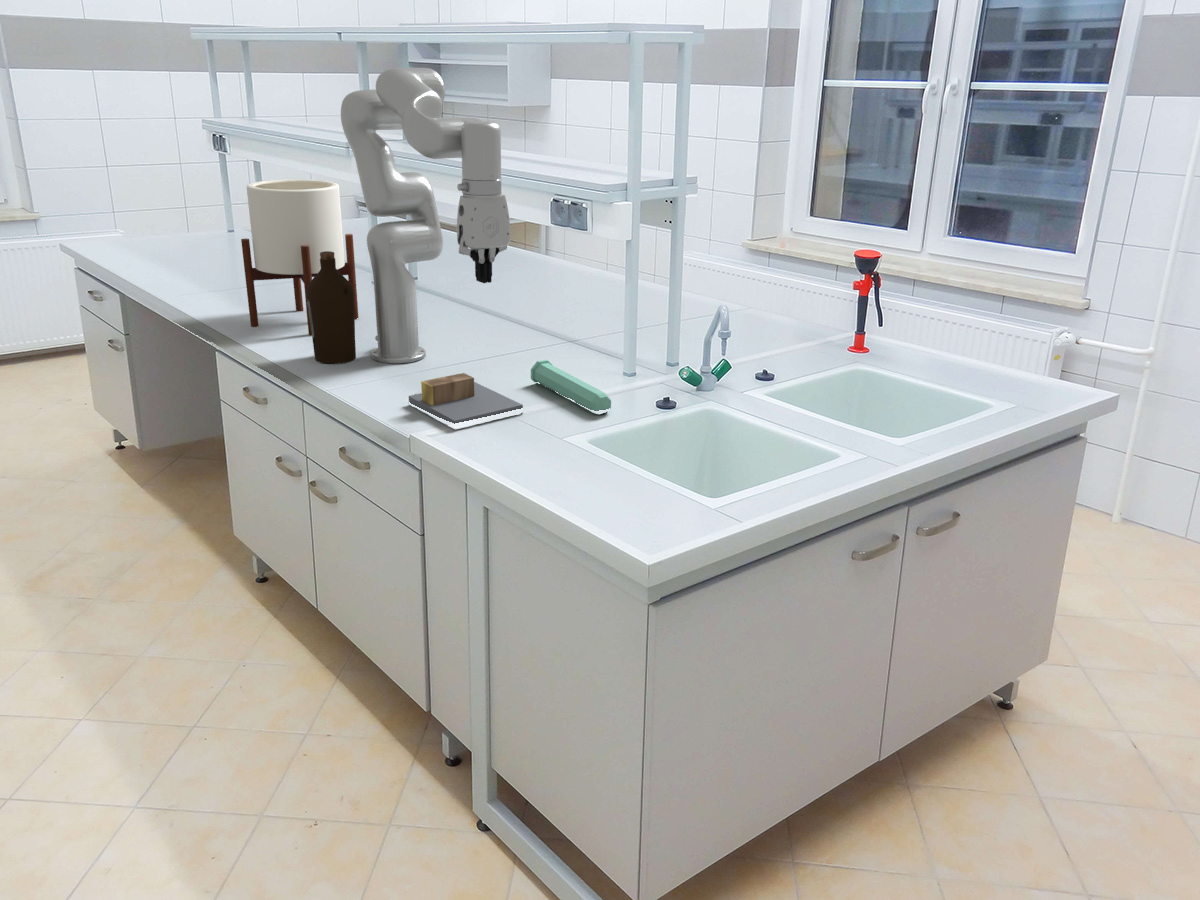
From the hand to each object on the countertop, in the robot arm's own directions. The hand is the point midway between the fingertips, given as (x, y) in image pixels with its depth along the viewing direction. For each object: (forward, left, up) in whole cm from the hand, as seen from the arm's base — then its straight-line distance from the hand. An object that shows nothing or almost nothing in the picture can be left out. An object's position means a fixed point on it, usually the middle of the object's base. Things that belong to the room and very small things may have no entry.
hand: (483, 281), depth 197 cm
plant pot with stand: (-80, -5, -25) cm, 84 cm away
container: (+10, +15, -26) cm, 31 cm away
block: (0, -4, -21) cm, 21 cm away
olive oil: (-45, -13, -25) cm, 53 cm away
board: (+3, -7, -25) cm, 26 cm away
